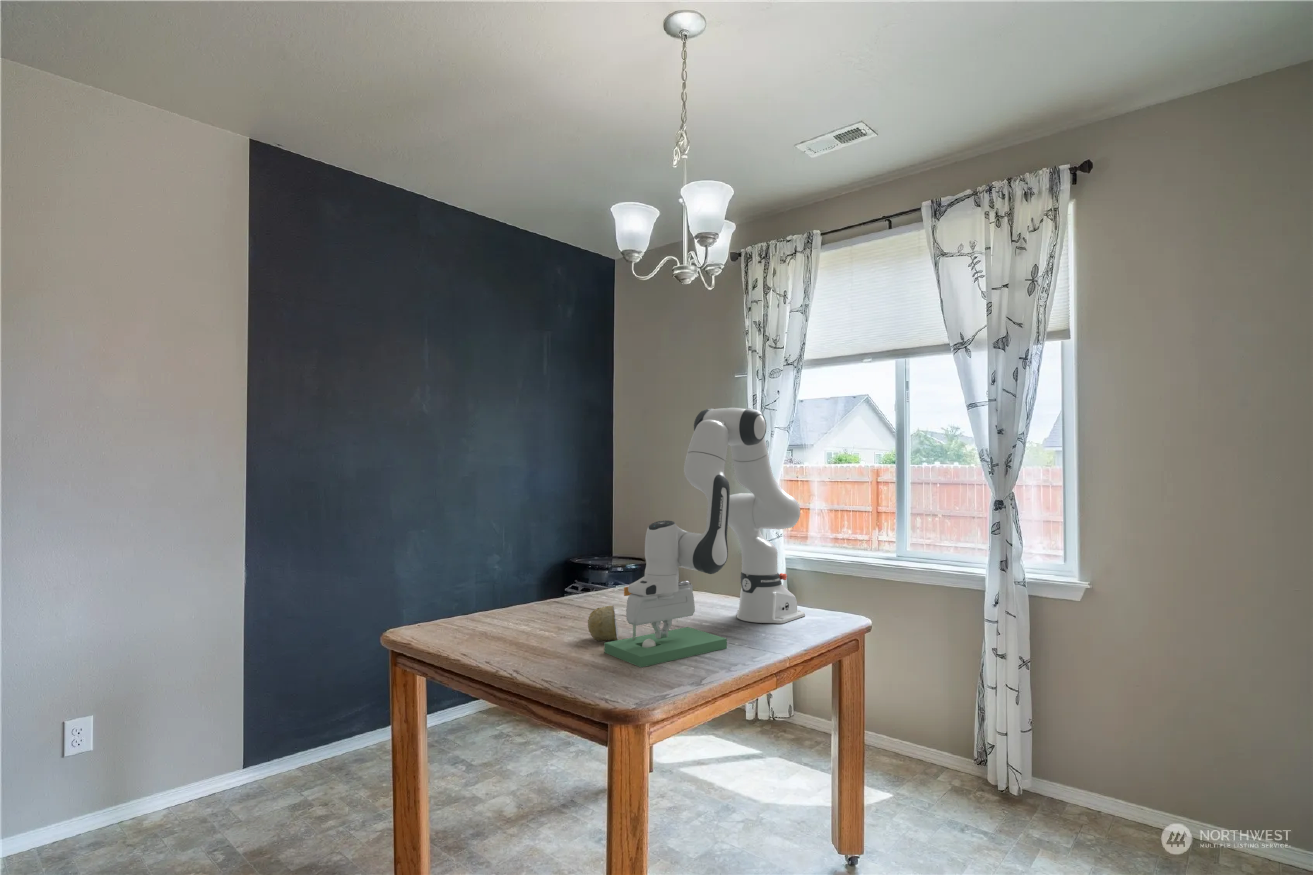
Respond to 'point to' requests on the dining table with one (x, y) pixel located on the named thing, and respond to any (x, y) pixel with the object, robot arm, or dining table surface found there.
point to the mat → (664, 645)
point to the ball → (648, 643)
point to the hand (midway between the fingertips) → (661, 637)
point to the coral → (603, 624)
